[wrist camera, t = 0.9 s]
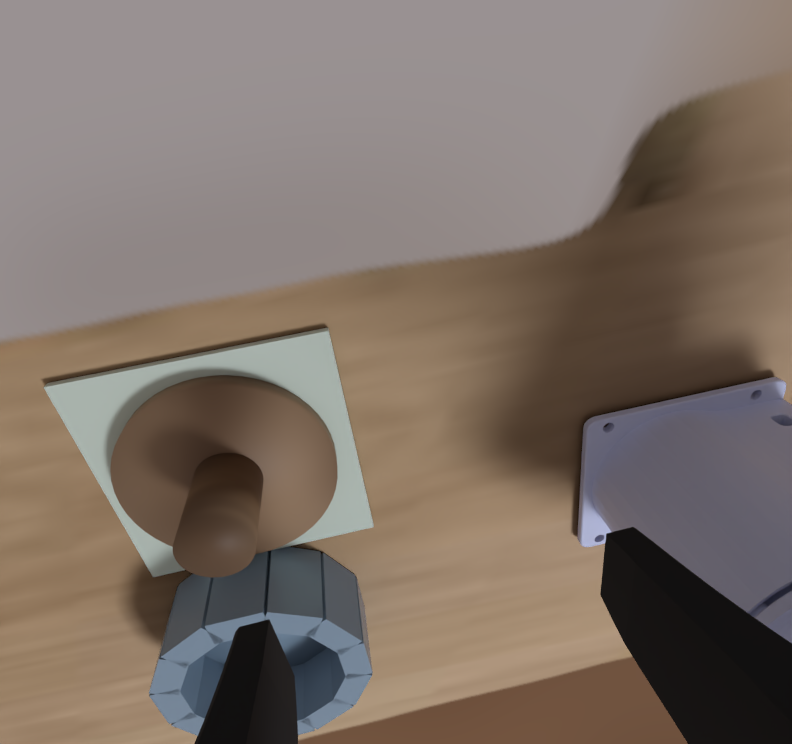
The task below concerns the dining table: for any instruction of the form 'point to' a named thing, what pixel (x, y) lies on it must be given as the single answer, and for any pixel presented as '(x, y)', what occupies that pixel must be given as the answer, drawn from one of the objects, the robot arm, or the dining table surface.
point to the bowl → (293, 624)
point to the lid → (224, 470)
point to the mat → (265, 360)
